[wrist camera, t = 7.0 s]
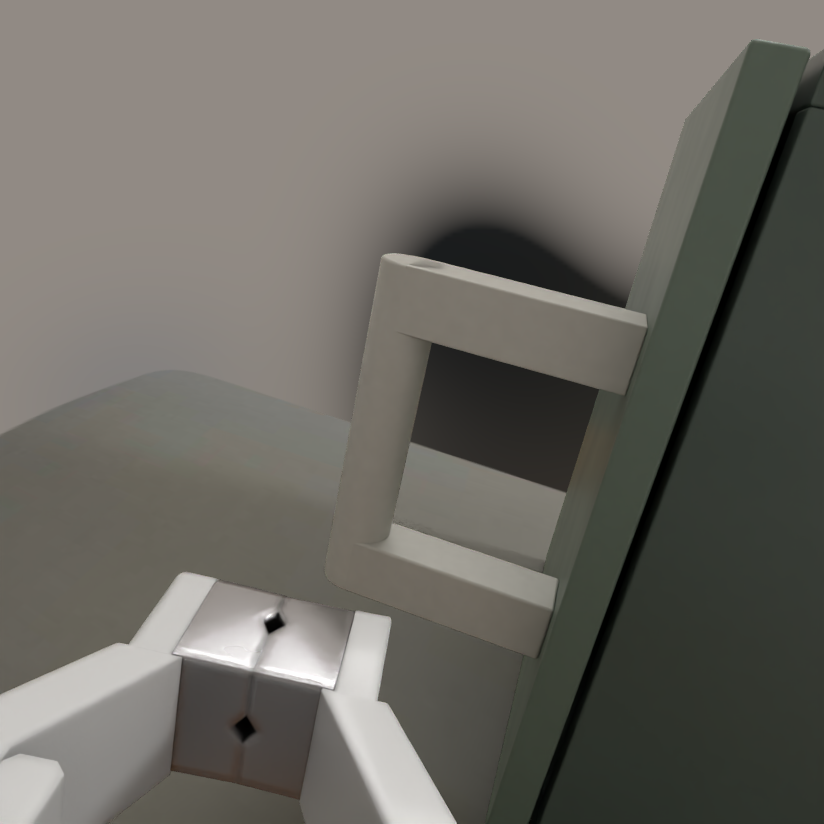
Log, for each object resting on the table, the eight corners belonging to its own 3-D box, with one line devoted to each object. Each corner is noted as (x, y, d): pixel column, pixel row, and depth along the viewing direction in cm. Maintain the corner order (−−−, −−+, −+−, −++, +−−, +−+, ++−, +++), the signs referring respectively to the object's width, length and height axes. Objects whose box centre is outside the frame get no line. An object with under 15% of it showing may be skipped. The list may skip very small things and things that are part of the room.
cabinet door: (270, 755, 20) (401, -23, 13) (421, 515, 35) (523, 85, 28) (515, 860, 19) (813, 47, 12) (566, 563, 33) (713, 122, 26)
